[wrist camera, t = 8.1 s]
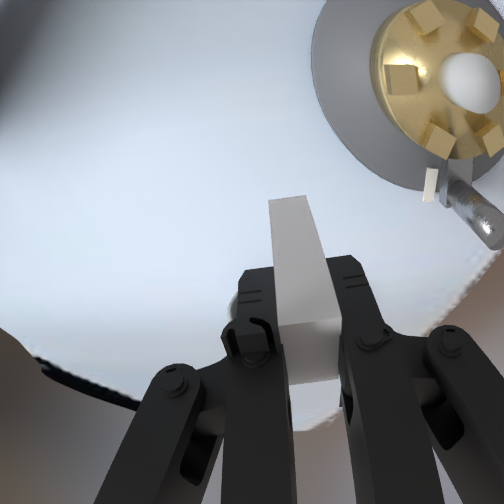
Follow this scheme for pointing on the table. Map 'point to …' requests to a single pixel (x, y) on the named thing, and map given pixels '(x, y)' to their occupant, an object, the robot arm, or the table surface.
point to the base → (366, 105)
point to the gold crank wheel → (442, 98)
